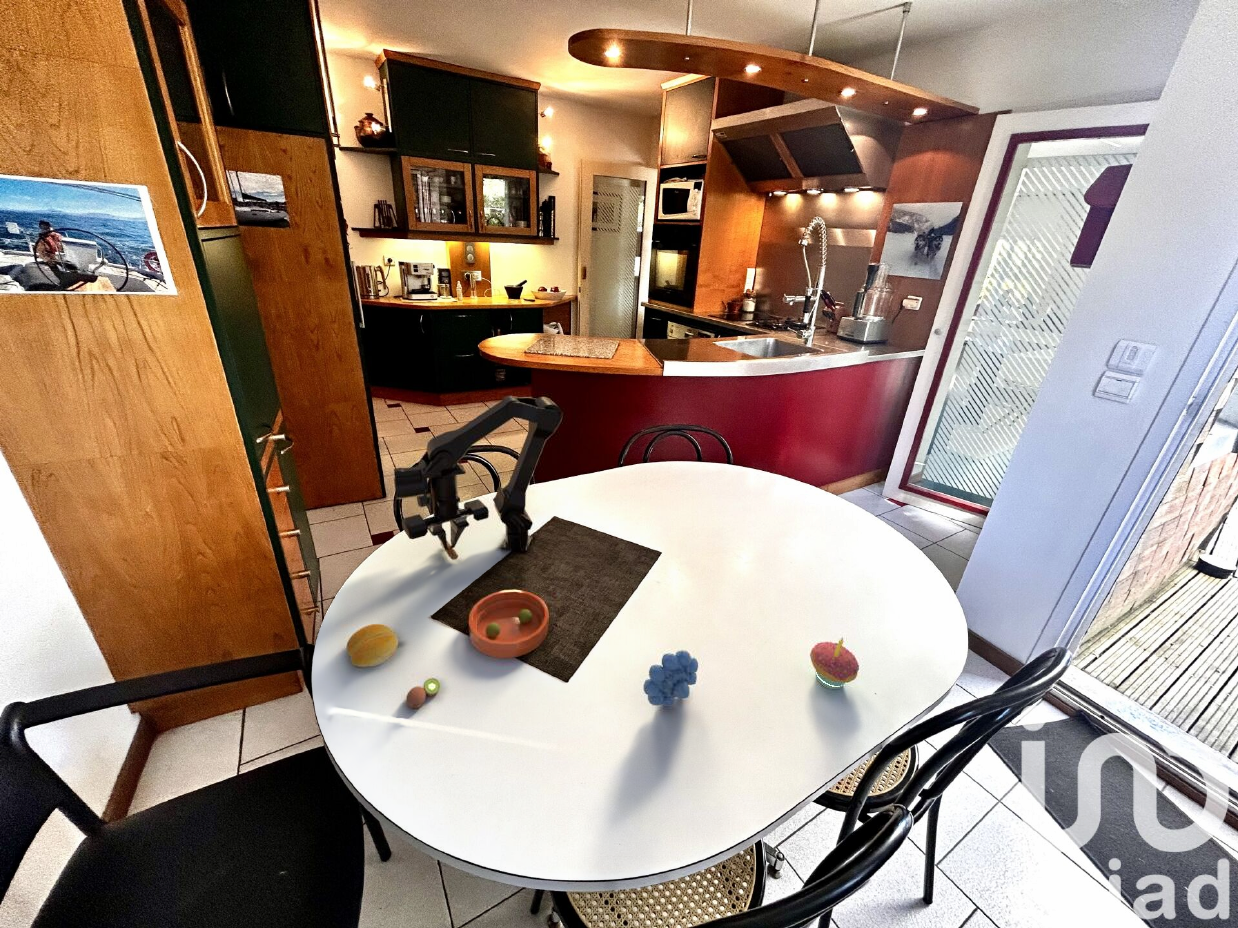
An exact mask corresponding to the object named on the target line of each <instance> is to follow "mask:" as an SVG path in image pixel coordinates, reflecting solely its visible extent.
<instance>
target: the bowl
mask: <svg viewBox="0 0 1238 928" xmlns="http://www.w3.org/2000/svg"><path fill="white" fill-rule="evenodd" d="M524 609H527V610H529V611H530V612H531V613H532V619H531V621H530V622H529V623H526V624H523V623H521V622H520V621H519V619H518V615H519V613H520V612H521V611H522V610H524ZM549 618H550V617H549V608H548V606H547V605H546V602H545V601H544V600H543V598H540V597H539V596H538V595H537V594H534V593H532V592H529V591H527V590H520V589H504V590H500V591H496V592H493V593H491V594H488V595H487V596H485V597H482V598H481V599H480V600H479V601H477V603H476V604H474V605H473V607H472V609H471V610H470V612H469V614H468V634H469V635H468V636H469V639H470V642H471V644H472V646H474V647H475V649H476V650H477V651H478V652H479V653H482V654H484V655H485V656H488V657H489V658H490V657H491V658H497V659H513V658H517V657H521V656H524V655H527V654H529V653H531V652H533V651H534V650H535V649H537V648H538V647H540V645H541V644H542V643H543V642H544V641H545V639H546V638H547V635H548V632H549ZM490 623H497V624H498V625H499V626H500V633H499V635H498V636H497V637H494V638H490V637H488V636H487V634H486V627H487V626H488V625H489V624H490Z"/></svg>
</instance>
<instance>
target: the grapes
mask: <svg viewBox="0 0 1238 928" xmlns="http://www.w3.org/2000/svg"><path fill="white" fill-rule="evenodd" d="M698 670H699V662H698V659H697V658H696V657H694V656H691V654H690V653H689V651H687V650H683V649H681V650H678V651H676V652H675V654H674V653H670V652H669V653H664V654H663V655H662V657H661V664H653V665H651V666H650V667H649V670H648V676H649V678H647V679H645V681H644V682H643V691H644V694H645V695H647V701H648V703H649V704H650V705H651V706H657V707H658V706H664V707H672V706H674V704H675V700H676V698H678V699H682V700H683V699H688V698H689V697H690V691H691V690H690V686H692V685H693V686H694V685H696V683H697V681H698V680H697V679H698V677H697V675H698V674H697V672H698Z"/></svg>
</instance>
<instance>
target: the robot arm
mask: <svg viewBox="0 0 1238 928" xmlns="http://www.w3.org/2000/svg"><path fill="white" fill-rule="evenodd" d="M512 419H521V420H524V421H528V429H527V430H528V431H527V434H526V436H525V439H524V442H523V445H522V447H521V450H520V452H519V455H518V458H517V460H516V463H515V465H514V468H513V470H512V473H511V476H510V479H509V481H508V483H507V484H506V485H505V486H504V487H501V486H498V487H497V489H496V495H495V496H494V497H493V499H492V501H493V503H494V504H493V505H494V506H493V507H494V509H495V511H496V513H497V515H498V517H499V520H500V521H501V523H503V525H505V538H504V541H503V542H502V544H501V545H500V548H501V549H504V550H512V551H519V552H526V551H527V550H528V548H529V546H530V544H531V542H532V540H533V536H532V535H529V531H530V530H531V529H532V527H533V525H534V522H533V521H532V518H531V517H530V515H529V514H528V512H527V510H526V504H527V503H526V498H527V495H526V494H527V490H528V488H529V484H530V483H531V480H532V478H533V475H534V472H535V470H536V467H537V465H538V462H539V460H540V456H541V454H542V452H543V449H544V447H545V444H546V442H547V440H548V439H549V438H550V437H552V435H554V433H555V432H556V430H557V429H558V428H559V426H560V424H561V423H562V420H563V412H562V410H561V408H560V407H559V406H558V404H556V403H555V402H554V401H552V400H551V398H548V397H546V396H540V397H538V398H534V397H530V396H529V397H528V396H522V397H521V396H513V395H507V396H504V398H502V400H501V401H499V402H497V403H496V404H495V405H493V406H491V407H490V408H488V409H486V410H485V411H483V412H482V413H481V414H479V415H478V416H476V417H475V418H473V419H471V420H470V421H468V422H467V423H465V424H464V425H462V426H461V427H459V428H457V429H455V430H454V429H453V430H450V431H445V432H443V433H441V434H438V435H436V436H434V437H432V438H430V440H429V441H428V442H427V443H426V450H425V452H424V454H423V455H422V456H421V458H420V459H419V461H418V465H419V466H411V467H394V468H393V474H394V478H393V483H394V491H395V499H396V500H401V499H402V500H403V499H408V498H416V502H417V506H418V507H419V508H425V507H426V509H428V511H429V513H430V514H431V515H432V516H430V517H429V516H428V517H426V518H423V517H422V515H421V514H420V513H419V514H415V515H412V516H408V517H404V518H403V520H402V521H401V525H402V526H401V527H402V530H403V531H404V533H405V534H406V536H407V537H408V539H410V540H415V539H420V538H423V537H425V536H426V535H427V534H428V533H430V534H431V536H433V537H436V536H437V538H438V540H439V542H440V545H441V544H442V546H443V547H442V546H441V547H442V549H443V550H444V549H445V550H447V541H448V540H447V539H448V538H447V531H446V530H445V529H444V527H443V524H446V523H449V524H450V525H449V526H450V545H451V546H452V547H453V549H454V548H455V547H456V546H457V544H458V542H459V539H460V538H461V535H462V534H463V532H464V531H465V530H466V528H468V527H469V526H470V523H469V521H468V520H467V518H468V517H470V516H473V519H474V521H477V522H480V521H484V520H487V519H488V518H489V517H490V513H489V512H490V511H489V508H488V507H487V506H486V505H485V503H483V502H482V501H481V500H480V499H479V498H478V499H474V500H470V501H466V502H464V503H463V508H462V507H460V504H459V503H460V502H461V498H460V496H459V489H458V476H459V475H466V473H467V472H466V469H465V468H464V465H463V464H461V463H460V462H459V461H461V459H463V457H464V456H465V455H466V453H467V452H468V450H469V449H470V448H471V447H472V446H473V445H475V444H476V443H479V441H481V440H482V439H484V438H485V437H487V436H488V435H490V434H492V433H493V432H494V431H496V430H497V429H499V428H500V427H502V426H504V425H505V424H506V423H508V422H509V421H511V420H512ZM428 479H429V480H430V481H429V482H430V491H431V492H429V482H428ZM427 492H429V493H428V494H427ZM445 550H444V551H445Z"/></svg>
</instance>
